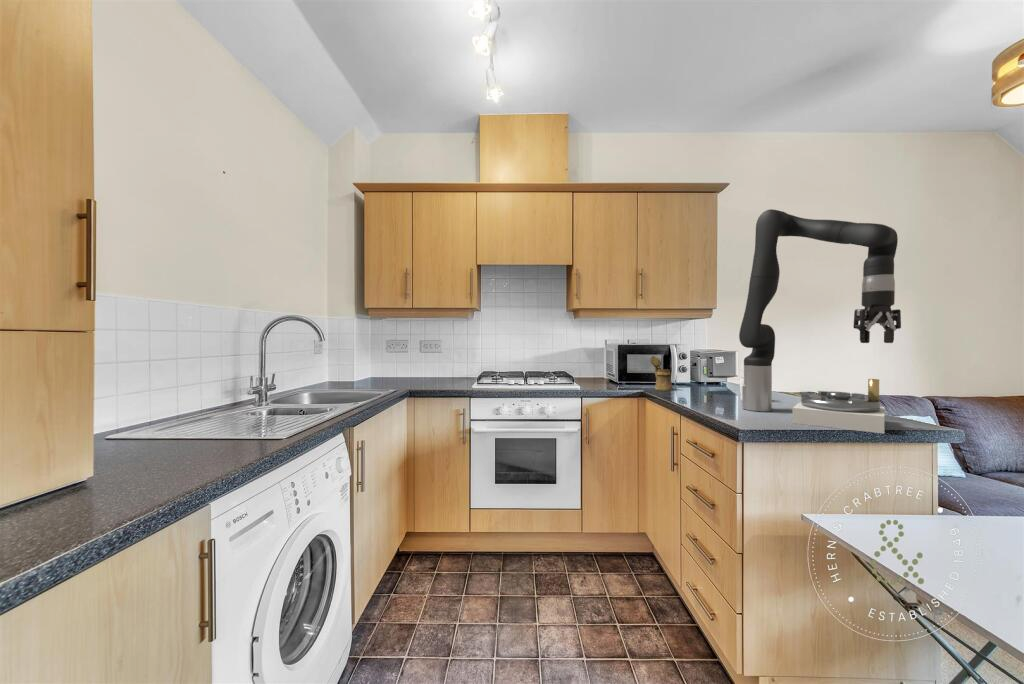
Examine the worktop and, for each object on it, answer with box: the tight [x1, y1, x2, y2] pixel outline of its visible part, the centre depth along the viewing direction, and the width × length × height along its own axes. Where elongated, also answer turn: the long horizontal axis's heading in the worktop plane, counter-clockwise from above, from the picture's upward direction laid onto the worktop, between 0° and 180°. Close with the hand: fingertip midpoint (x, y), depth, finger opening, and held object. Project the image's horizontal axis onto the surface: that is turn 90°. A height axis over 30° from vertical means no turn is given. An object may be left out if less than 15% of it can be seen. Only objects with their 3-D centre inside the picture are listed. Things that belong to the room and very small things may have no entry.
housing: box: [792, 401, 885, 434], centre depth 131 cm, size 22×22×5 cm
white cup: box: [738, 376, 744, 401], centre depth 178 cm, size 8×8×10 cm
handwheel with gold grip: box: [800, 378, 881, 412], centre depth 131 cm, size 20×20×10 cm
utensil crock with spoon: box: [650, 355, 674, 392], centre depth 217 cm, size 9×14×18 cm, turn 19°
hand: (876, 342), depth 124 cm, fingers open, 8 cm apart
